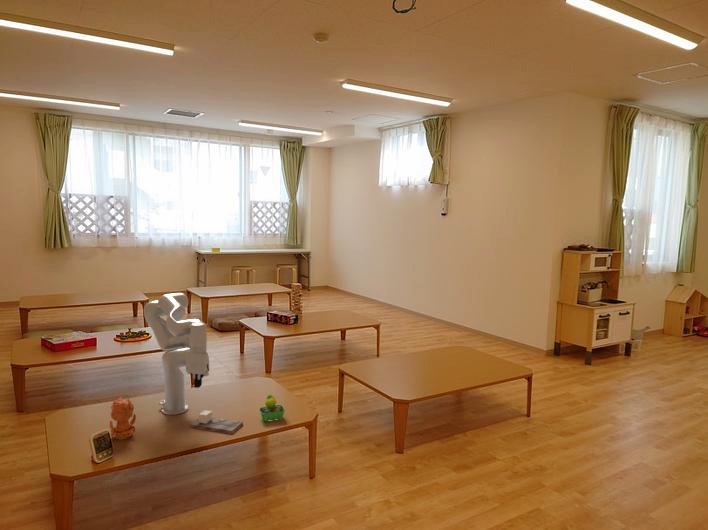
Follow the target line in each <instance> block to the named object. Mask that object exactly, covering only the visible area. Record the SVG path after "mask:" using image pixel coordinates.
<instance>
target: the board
mask: <svg viewBox="0 0 708 530" xmlns="http://www.w3.org/2000/svg"><path fill="white" fill-rule="evenodd" d="M243 424H244V423H243V421H240V420H239V421H238V420H234V419H233V420H231V419H225V418H218V417H213V416H212V420H210V421H209V422H208V423H199V418H197V419H195V420H194V421H193V422H191V423H189V428H192V429H198V430H205V431H211V432H216V431H217V433H222V434H230V435H233V434H234V433H235V432H236V431H237V430H239V429H240V428H241V427H242V426H243Z"/></svg>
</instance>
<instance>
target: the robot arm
mask: <svg viewBox="0 0 708 530" xmlns="http://www.w3.org/2000/svg"><path fill="white" fill-rule="evenodd" d="M188 305H189V298H188V296H187V295H186V294H185V293H184V292H183V293H182V292H175V293H174V292H173V293H166V294H163V295H161V296H159V297H158V300H152V301H149V302H147V303H145V305H144V307H143V316H144V319H145V321H146V323H147V325H148V326H149V327H150V328H151V330H152V332H153V334H154V337H155V339H156V342H157V343H158V344H157V345H158V346H159V348H160V350H162V351H165V352H163V354H162V356H161V361H162V362H161V363H162V366H163V367H162V368H163V374H164V375H163V377H164V381H163V382H164V399H160V400H159V403H158V406H162V408H161V413H163V414H164V415H169V416H172V415H173V416H175V415H179V414H182V413H185V412H187V411H188V410H189V405H188V404H186V394H185V392H186V391H185V389H186V388H185V374H184V372H183V371H182V370H181V369H180V368H182V367H185V371H186V373H187V374H189V375H190V376H192V379H193V382H194V388H195V389H199V388H200V387H202V384H203V380H202V379H203V378H205V377H208V376H210V374H209V372H210V357H209V353H208V351H207V350H208V349H207V345H208V344H207V340H208V339H207V337H208V336H207V331H208V329H207V328H208V327H207V324H206V323H205V322H204V321H202V320H201V319H199V318H191V319H183V318H184V317H185V314H186V309H187V307H188ZM163 316H165V317H166V320H165V319H164V318H162V317H163Z"/></svg>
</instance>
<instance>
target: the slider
mask: <svg viewBox="0 0 708 530" xmlns="http://www.w3.org/2000/svg"><path fill="white" fill-rule="evenodd" d="M212 417H213V411H212V410H206V409H205V410H203V411H201V412H200V413H199V414H198V419H199V423H208V422H209V421H210V420H212Z"/></svg>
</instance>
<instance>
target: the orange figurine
mask: <svg viewBox="0 0 708 530" xmlns="http://www.w3.org/2000/svg"><path fill="white" fill-rule="evenodd" d="M112 402H113V403H111V406H110V408H111V411H110V417H111V418H110V419H112V420H113V421H116V426H114V425H113V421H112V420H110V421H109V428H110V436H111V437H110V438H112V439H116V440H121V441H122V440H126V439H128V438H130V437H132V436H133V435H132V434H134V433H135V432H136V426H135V425H134V424H135V423H136V419H137V416H136V415H137V414H136V413H134V409H135V407H134V404H133V403H132V402H131V400H130V399H129V398H127V399H126V398H123V397H121V396H118V399H116V400H113V401H112ZM131 417H132V419H131ZM130 419H131V421H130V422H129V420H130Z"/></svg>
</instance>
